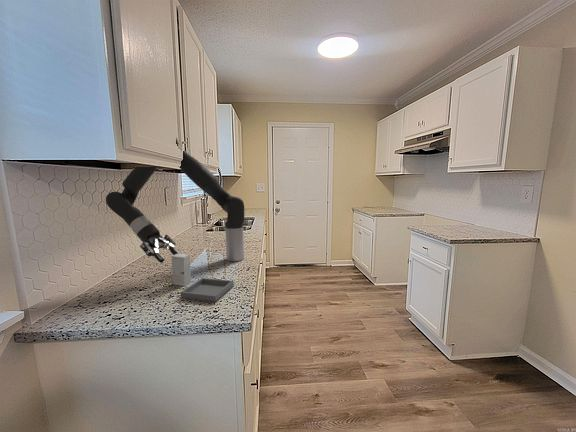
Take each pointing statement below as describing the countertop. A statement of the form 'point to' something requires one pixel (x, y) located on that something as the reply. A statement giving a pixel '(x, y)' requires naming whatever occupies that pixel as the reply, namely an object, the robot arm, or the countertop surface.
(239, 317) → the countertop surface
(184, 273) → the skincare box
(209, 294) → the tray
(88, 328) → the countertop surface
